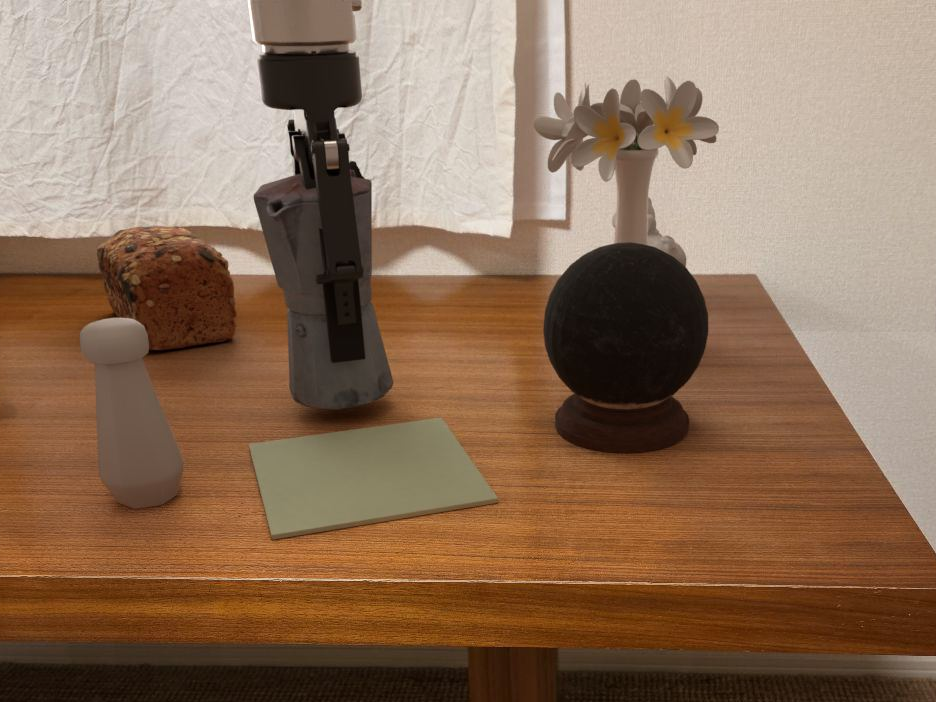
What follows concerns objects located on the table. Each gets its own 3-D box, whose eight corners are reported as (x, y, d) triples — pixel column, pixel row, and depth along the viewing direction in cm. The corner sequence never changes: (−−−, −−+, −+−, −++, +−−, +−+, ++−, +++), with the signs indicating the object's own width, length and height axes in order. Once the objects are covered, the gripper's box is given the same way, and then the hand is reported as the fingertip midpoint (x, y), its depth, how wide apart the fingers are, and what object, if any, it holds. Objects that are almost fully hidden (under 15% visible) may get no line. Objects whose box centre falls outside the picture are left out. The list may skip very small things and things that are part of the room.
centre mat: (272, 540, 68) (271, 535, 68) (249, 448, 81) (248, 443, 81) (498, 502, 73) (498, 497, 72) (442, 421, 86) (441, 417, 86)
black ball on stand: (510, 428, 84) (507, 246, 77) (608, 385, 93) (613, 218, 86) (637, 473, 77) (647, 276, 69) (730, 422, 85) (748, 242, 78)
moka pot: (249, 417, 83) (211, 159, 73) (327, 359, 96) (302, 134, 86) (358, 427, 81) (333, 163, 71) (422, 366, 94) (408, 137, 84)
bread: (244, 341, 105) (229, 243, 100) (137, 358, 100) (115, 257, 95) (200, 297, 119) (185, 210, 114) (105, 311, 114) (85, 220, 109)
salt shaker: (92, 495, 74) (49, 322, 67) (166, 471, 77) (131, 304, 71) (128, 522, 70) (86, 341, 64) (203, 496, 74) (171, 322, 67)
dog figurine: (637, 279, 125) (641, 189, 120) (691, 305, 115) (697, 209, 110) (599, 284, 123) (601, 193, 118) (650, 311, 113) (654, 213, 108)
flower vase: (575, 315, 112) (578, 67, 100) (729, 344, 103) (753, 75, 91) (508, 347, 102) (502, 78, 90) (671, 382, 94) (689, 88, 81)
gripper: (388, 57, 67) (410, 378, 78) (332, 39, 85) (357, 302, 96) (273, 60, 65) (313, 390, 76) (240, 41, 83) (276, 311, 94)
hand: (337, 341), depth 86 cm, fingers closed on moka pot, 9 cm apart
